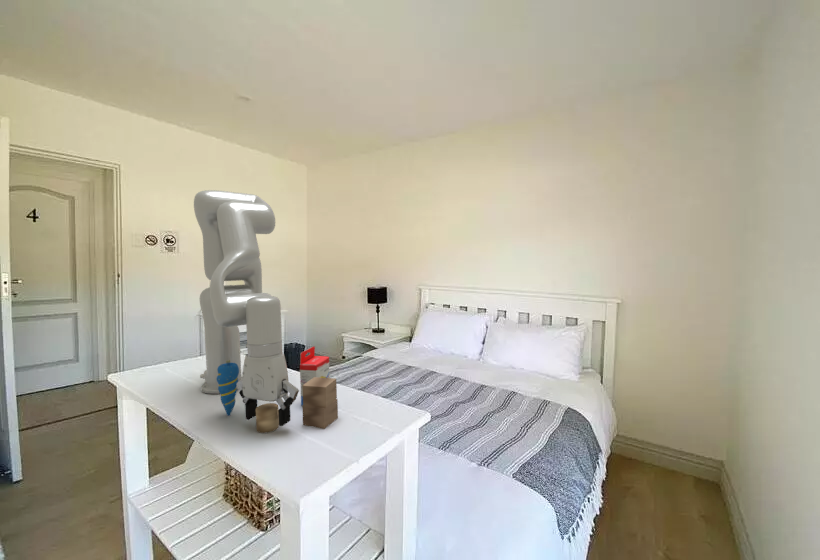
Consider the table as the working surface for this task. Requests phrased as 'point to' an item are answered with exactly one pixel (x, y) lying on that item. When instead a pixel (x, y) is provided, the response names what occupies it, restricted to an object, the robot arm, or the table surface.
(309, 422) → the bottom block
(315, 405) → the top block
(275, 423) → the beige knob
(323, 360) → the ink box
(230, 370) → the ornament
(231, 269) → the robot arm
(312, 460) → the table surface
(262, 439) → the table surface
